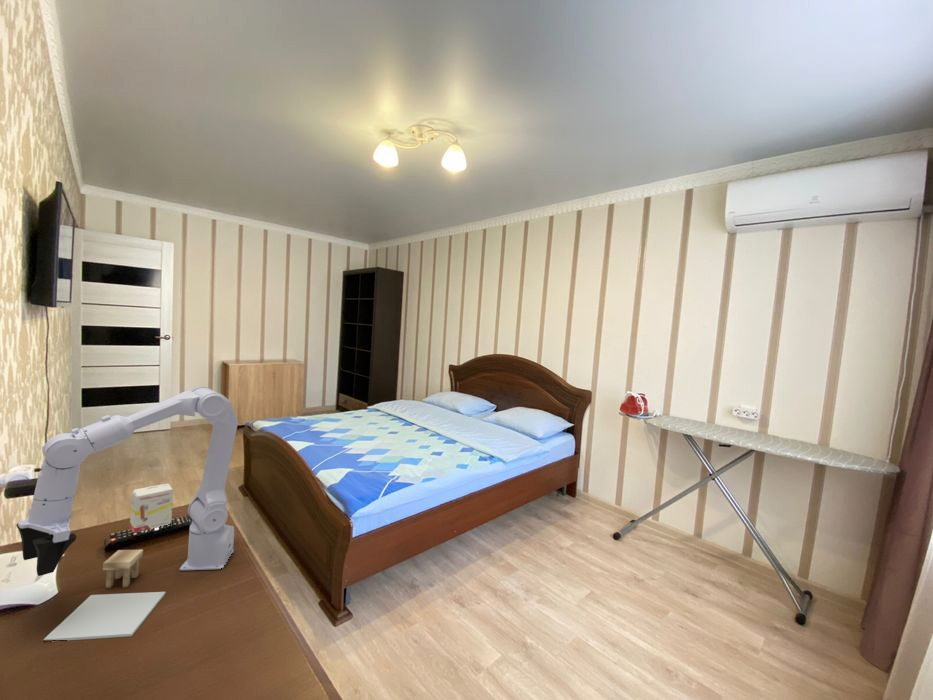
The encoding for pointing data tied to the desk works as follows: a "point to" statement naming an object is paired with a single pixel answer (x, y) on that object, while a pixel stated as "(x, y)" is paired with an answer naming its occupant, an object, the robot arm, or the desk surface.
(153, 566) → the desk surface
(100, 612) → the light grey mat
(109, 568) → the birch stool
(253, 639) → the desk surface
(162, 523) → the ink box
